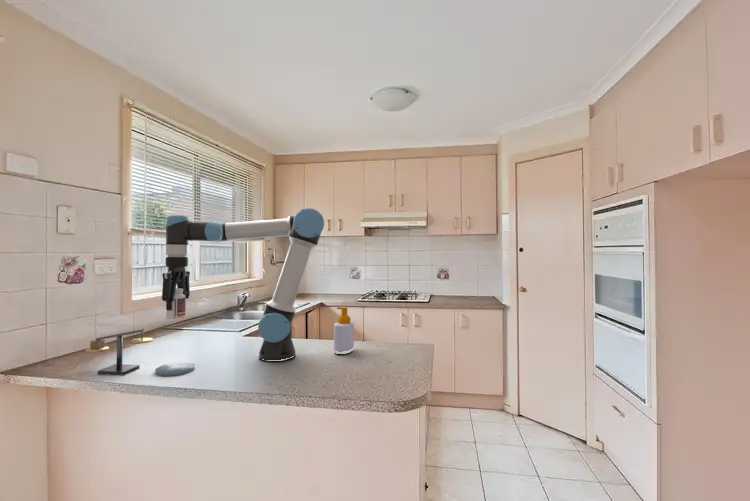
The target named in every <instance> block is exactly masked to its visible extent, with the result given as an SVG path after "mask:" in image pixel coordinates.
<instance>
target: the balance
mask: <svg viewBox="0 0 750 501" xmlns="http://www.w3.org/2000/svg"><path fill="white" fill-rule="evenodd" d="M144 332H145V329H144V328H141V329H137V330H131V331H125V332H120V333H116V334H109V335H106V336H99V337H96V338H95V339H93V340H90V343H89V344H90V347H87V348H86V349H85V353H92V354H93V353H101V352H105V351H108V350H109V349H110V347H109V346H106V345H105V339H106V340H107V339H111V338H116V358H115V360H116V363H114V364H111V365H110V366H107V367H104V368H101V369H99V370H97V375H111V376H125V375H127V374H130V373H132V372H134V371H137V370H139V369H140V364H123V342H124V340H123V337H124V336H127V335H128V336H129V335H133V334H137V333H141V337H139V338H138V337H137V338H133V339H131V340H130V344H135V345H137V344H138V345H139V344H147V343H152V342H153V341H154V338H152V337H144Z"/></svg>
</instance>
